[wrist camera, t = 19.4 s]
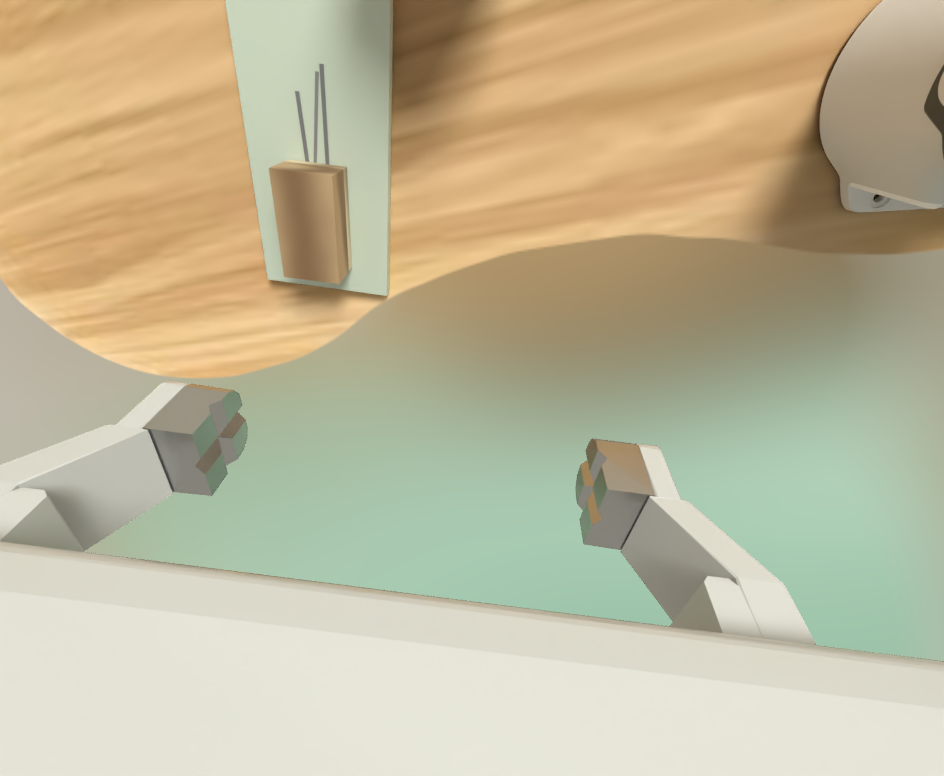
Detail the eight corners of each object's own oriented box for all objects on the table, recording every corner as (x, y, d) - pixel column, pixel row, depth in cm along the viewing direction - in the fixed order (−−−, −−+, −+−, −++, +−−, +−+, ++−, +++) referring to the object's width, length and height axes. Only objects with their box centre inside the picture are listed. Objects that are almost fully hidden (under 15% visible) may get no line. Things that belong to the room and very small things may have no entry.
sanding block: (346, 166, 39) (332, 176, 35) (351, 267, 44) (339, 284, 41) (288, 159, 39) (268, 167, 35) (300, 261, 44) (283, 276, 41)
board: (393, -19, 33) (389, -22, 31) (389, 291, 47) (386, 296, 45) (226, -44, 32) (217, -48, 31) (272, 274, 46) (267, 279, 45)
